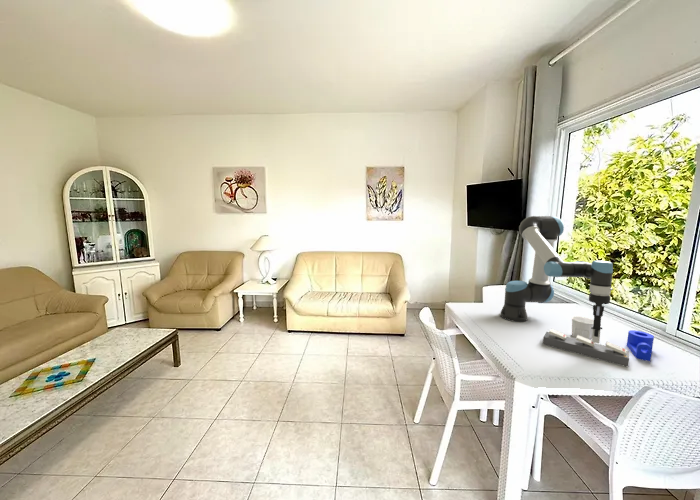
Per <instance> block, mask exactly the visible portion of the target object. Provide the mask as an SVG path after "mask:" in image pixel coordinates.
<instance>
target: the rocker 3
mask: <svg viewBox="0 0 700 500" xmlns="http://www.w3.org/2000/svg"><path fill="white" fill-rule="evenodd" d="M605 347H607V348H609V349H612V350H614V351H617V352H619V353H622V354H624V355H625V354H626V351H627V349H626V348H623V347H621V346H618V345H616V344H614V343H611V342H609V341H606V342H605Z"/></svg>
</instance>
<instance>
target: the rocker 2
mask: <svg viewBox="0 0 700 500" xmlns="http://www.w3.org/2000/svg"><path fill="white" fill-rule="evenodd" d="M575 339H576V340H578V341H580V342H582V343H585V344H587V345H590V346H592V347H594V344H595V343H594V342H592V340H589V339H587V338H584V337H582V336H579V335H577V337H576V338H575Z"/></svg>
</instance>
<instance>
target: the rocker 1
mask: <svg viewBox="0 0 700 500" xmlns="http://www.w3.org/2000/svg"><path fill="white" fill-rule="evenodd" d="M548 332H549V333H550V334H552V335H554V336H557V337H559V338H561V339H564V340H565V339H566V336H567V334H565V333H563V332H560V331H558V330H555V329H553V328H550V330H549V331H548ZM567 337H568V336H567Z"/></svg>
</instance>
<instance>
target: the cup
mask: <svg viewBox="0 0 700 500" xmlns="http://www.w3.org/2000/svg"><path fill="white" fill-rule="evenodd" d="M593 325H594V319H592V318H589V317H583V316H572V317H571V336H573V338H575V339H576V337H577V335H579V336H582V337H584V338H587V339H589V340H592V334H593V329H591V327H593Z"/></svg>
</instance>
